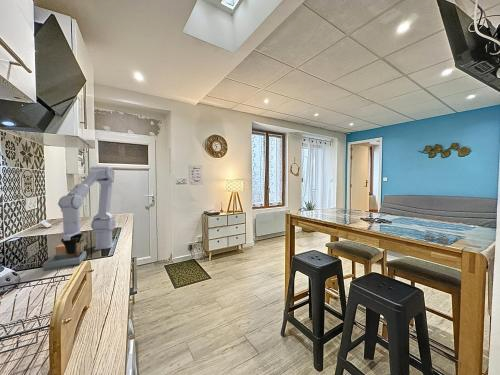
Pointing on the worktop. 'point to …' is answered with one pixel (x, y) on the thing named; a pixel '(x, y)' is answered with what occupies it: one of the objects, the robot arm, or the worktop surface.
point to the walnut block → (77, 251)
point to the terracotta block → (60, 249)
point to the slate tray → (63, 261)
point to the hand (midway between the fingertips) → (73, 252)
